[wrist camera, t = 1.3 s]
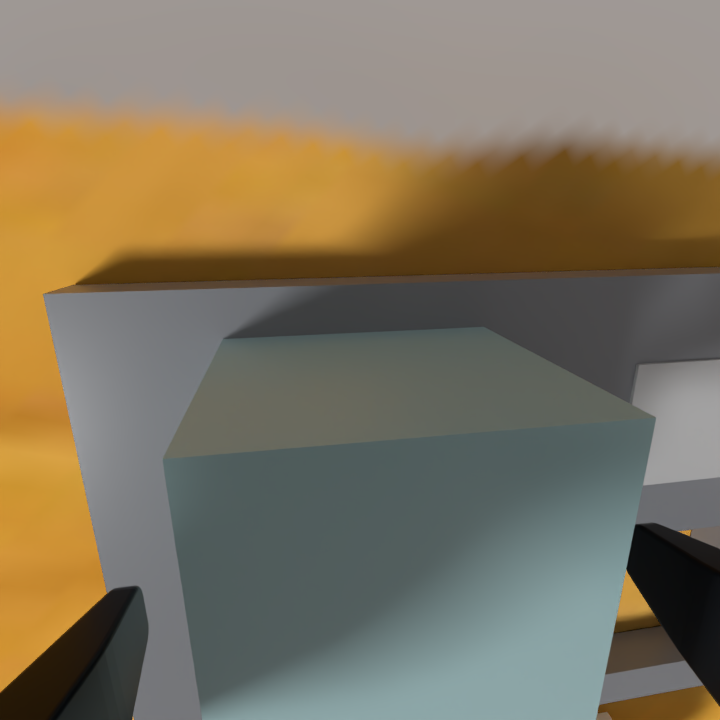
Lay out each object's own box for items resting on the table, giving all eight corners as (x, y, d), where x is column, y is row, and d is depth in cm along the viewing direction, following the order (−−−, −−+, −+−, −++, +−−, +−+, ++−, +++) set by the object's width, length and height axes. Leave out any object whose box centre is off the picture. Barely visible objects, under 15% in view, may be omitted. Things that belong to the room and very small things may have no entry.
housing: (483, 326, 12) (656, 417, 6) (468, 539, 14) (590, 748, 8) (222, 339, 11) (161, 458, 5) (245, 565, 13) (218, 823, 7)
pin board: (859, 263, 15) (1210, 288, 9) (743, 638, 20) (929, 807, 14) (72, 284, 11) (-136, 348, 6) (160, 739, 16) (94, 1020, 10)
